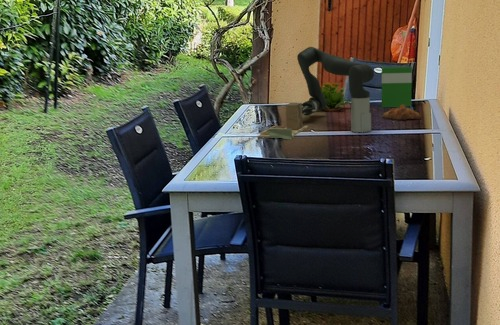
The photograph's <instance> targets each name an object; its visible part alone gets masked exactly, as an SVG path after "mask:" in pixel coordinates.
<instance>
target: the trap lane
mask: <svg viewBox="0 0 500 325" xmlns="http://www.w3.org/2000/svg"><path fill="white" fill-rule="evenodd" d="M308 128H309V125H303V127H302V128H301V129H299V130H292V129H287V125H273V126H271V127H269V128H268V129H265V130H263V131H262V132H260V134H259V135H257V136H256V137H257V139H265V138H283V139H282V140H293V139H294V138H293V137H296V136H297V135H298V134H299V133H301V132H303V131H304V130H306V129H308ZM262 137H264V138H262ZM292 138H293V139H292Z"/></svg>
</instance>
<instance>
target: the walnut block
mask: <svg viewBox="0 0 500 325" xmlns="http://www.w3.org/2000/svg"><path fill="white" fill-rule="evenodd" d="M302 103H303V102H289V103H287V104H285V109H286V110H285V112H286V113H285V114H286V117H285V118H286V126H287V129H292V130H299V129H301V128H302V127H304V125H303V114H302Z"/></svg>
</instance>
